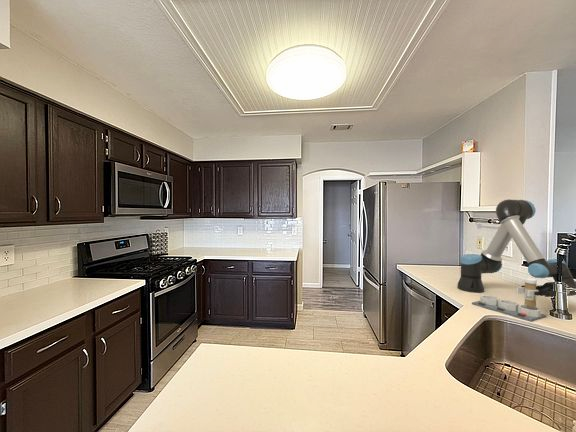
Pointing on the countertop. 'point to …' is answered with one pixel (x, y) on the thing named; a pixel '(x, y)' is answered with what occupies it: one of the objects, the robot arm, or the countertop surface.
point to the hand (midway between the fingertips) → (522, 292)
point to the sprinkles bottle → (530, 285)
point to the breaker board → (508, 312)
